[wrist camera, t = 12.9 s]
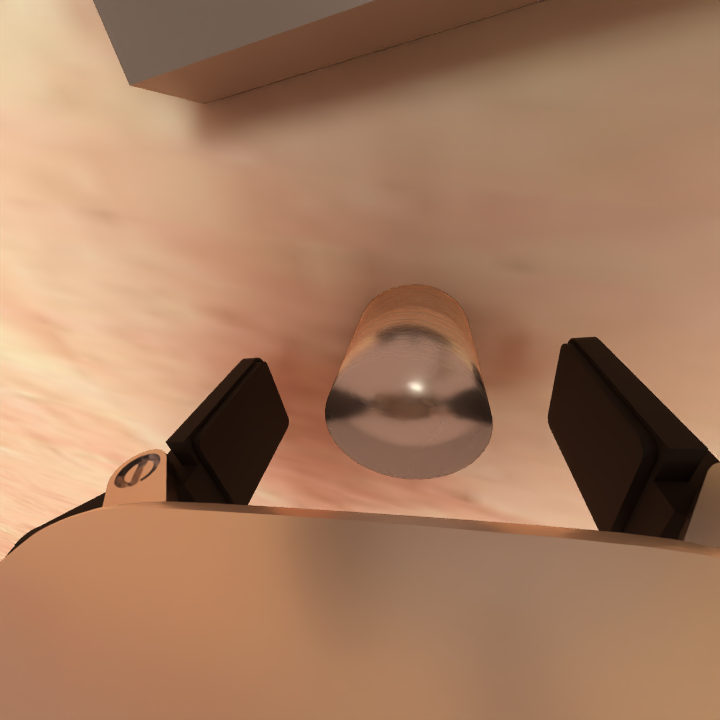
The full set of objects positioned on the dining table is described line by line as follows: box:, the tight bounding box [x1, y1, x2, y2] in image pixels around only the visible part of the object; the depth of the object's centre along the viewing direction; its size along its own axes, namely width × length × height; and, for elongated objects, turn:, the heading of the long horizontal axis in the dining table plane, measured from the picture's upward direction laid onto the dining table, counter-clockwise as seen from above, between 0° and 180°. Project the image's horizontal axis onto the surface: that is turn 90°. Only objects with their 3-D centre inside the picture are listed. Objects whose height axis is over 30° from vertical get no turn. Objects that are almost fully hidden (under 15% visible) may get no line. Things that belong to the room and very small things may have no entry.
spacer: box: [325, 284, 493, 479], centre depth 10 cm, size 4×4×5 cm
